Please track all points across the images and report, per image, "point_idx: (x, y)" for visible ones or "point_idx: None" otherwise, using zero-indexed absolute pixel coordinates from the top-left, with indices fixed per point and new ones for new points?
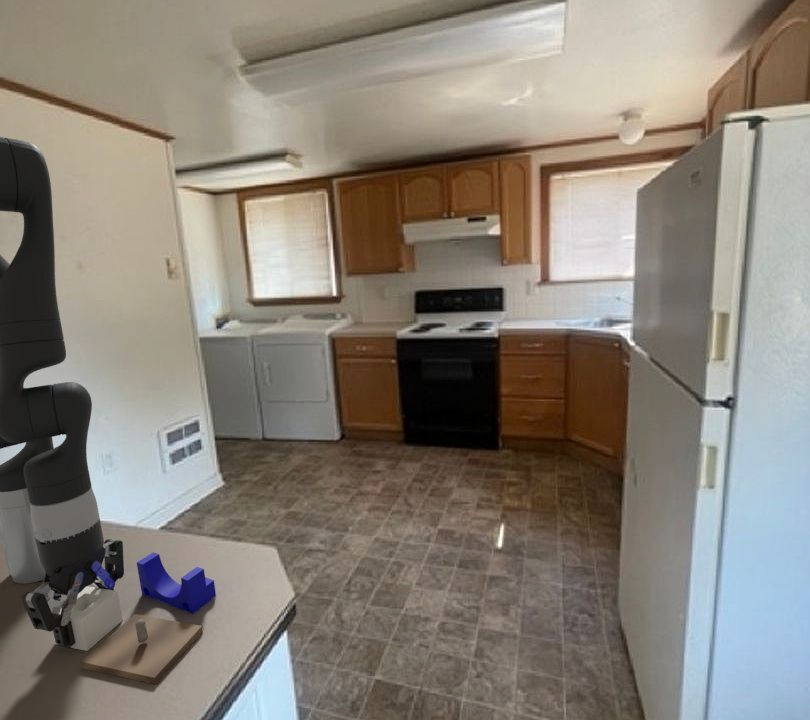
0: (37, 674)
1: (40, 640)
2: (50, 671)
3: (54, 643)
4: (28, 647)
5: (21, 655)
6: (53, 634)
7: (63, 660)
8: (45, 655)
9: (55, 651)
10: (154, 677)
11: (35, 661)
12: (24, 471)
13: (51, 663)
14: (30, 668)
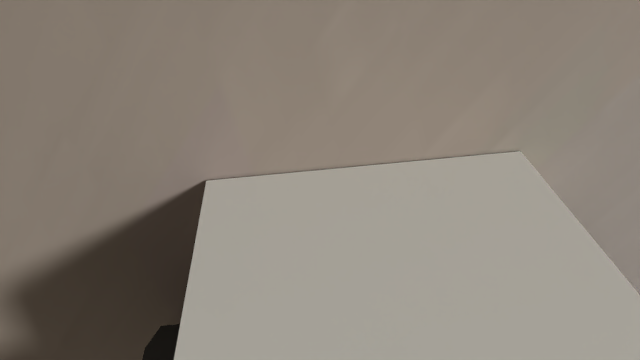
0: (12, 312)
1: (185, 26)
2: (67, 349)
3: (206, 184)
4: (89, 6)
5: (13, 46)
6: (200, 240)
7: (148, 340)
8: (116, 218)
9: (169, 243)
10: None
11: (51, 208)
12: None
13: (100, 306)
14: (4, 236)
